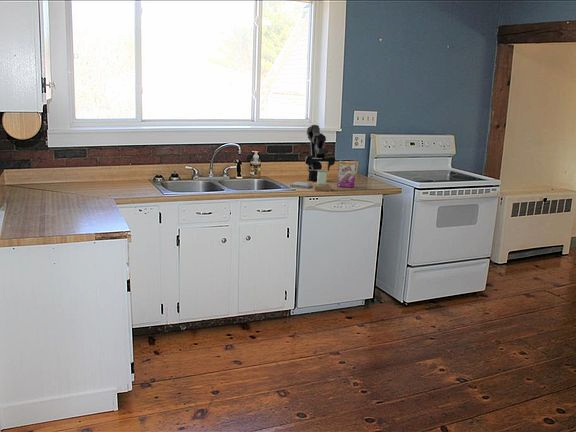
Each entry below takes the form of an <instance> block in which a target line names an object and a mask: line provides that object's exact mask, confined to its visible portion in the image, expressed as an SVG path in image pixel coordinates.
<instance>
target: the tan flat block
mask: <svg viewBox="0 0 576 432" xmlns="http://www.w3.org/2000/svg"><path fill="white" fill-rule="evenodd" d="M331 187H332V186H331V185H330V184H329V183H326V185H318V184H317V183H314V184H313V186H312V189H313V190H314V191H321V192H331V189H332V188H331Z"/></svg>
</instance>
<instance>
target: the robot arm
mask: <svg viewBox="0 0 576 432" xmlns="http://www.w3.org/2000/svg"><path fill="white" fill-rule="evenodd" d="M320 131H321V128H320V125H319V124H311V125H310V126H308V127H307V129H306V135H307V138H308V140H309V141H310V143H309V144H310V155H306V156H305V158H304V159H305V161H304V163H305V165H307V172H308V178H307V179H306V180H307V181H310V182H317V176H318V170H322V167H323V165H322V163H327V172H329V171H330V168H331V167H333V166H334V165H335V162H336V156H333V155H332V156H330V155H329V156H328V158H325V157H326V155H328V154H329V148H328V147H325V144H326V141H327V137H326V136H325V135H324V134H323V133H321V132H320ZM324 147H325V148H324Z"/></svg>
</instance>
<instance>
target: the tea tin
mask: <svg viewBox="0 0 576 432" xmlns="http://www.w3.org/2000/svg"><path fill="white" fill-rule="evenodd" d="M327 173H328V169H327V170H326V169H321V170H318V176H317V181H316V184H318V185H326V184H327Z"/></svg>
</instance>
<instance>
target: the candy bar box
mask: <svg viewBox="0 0 576 432" xmlns="http://www.w3.org/2000/svg"><path fill="white" fill-rule="evenodd" d="M337 168H338V171H337V180H336V181H337V182H336V183H337V185H336V187H341V188H355V183H356V182H355V180H356V179H355V178H356V168H357V162H356V161H345V160H339V161H338V167H337Z"/></svg>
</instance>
